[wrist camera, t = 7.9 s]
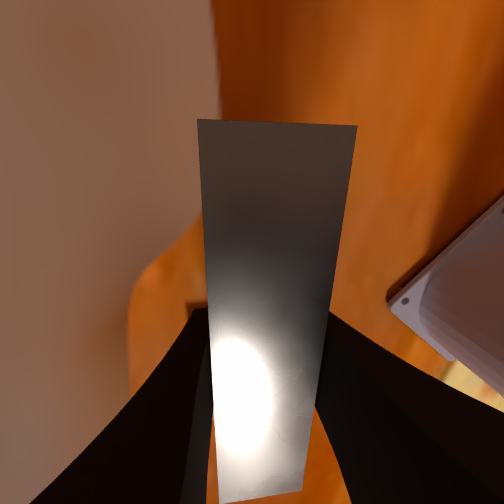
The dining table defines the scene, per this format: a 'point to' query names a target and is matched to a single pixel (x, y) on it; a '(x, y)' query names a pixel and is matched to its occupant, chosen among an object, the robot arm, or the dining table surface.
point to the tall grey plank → (269, 289)
